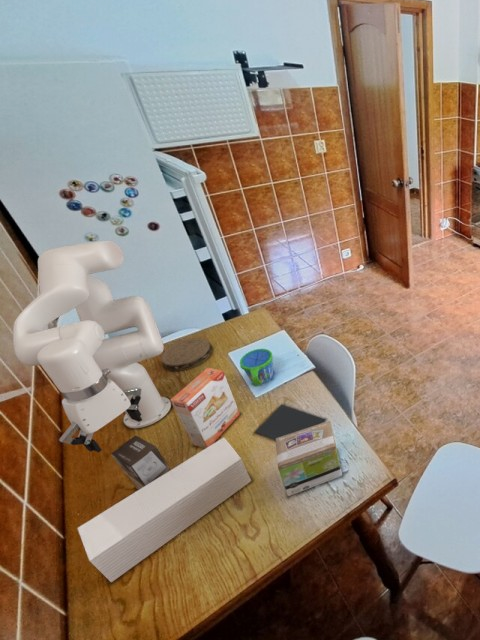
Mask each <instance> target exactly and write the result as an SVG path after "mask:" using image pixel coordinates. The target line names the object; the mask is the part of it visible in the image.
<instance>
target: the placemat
mask: <svg viewBox="0 0 480 640" xmlns="http://www.w3.org/2000/svg"><path fill="white" fill-rule="evenodd" d="M324 422H326V419H325V418H322V417H319V416H317V415H314V414H312V413H308V412H306V411H303V410H302V411H301V410H298V409H296V408H293V407H290V406H287V405H285V404H280V406H278V407H277V409H276V410H274V412H273V413H271V415H269V417H268V418H267V419H266V420H265V421H264V422H263V423H262V424H261V425H260V426H259V427H258V428H257V429H256V430H255V431H254V433H255V434H258V435H261V436H263V437H266V438H269V439H271V440H274V441H276V440H275V439H276V438H278V437H281V436H284V435H288V434H291V433H294V432H297V431H300V430H303V429H306V428H309V427H312V426H315V425H318V424H321V423H324Z"/></svg>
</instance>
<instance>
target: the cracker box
mask: <svg viewBox="0 0 480 640" xmlns="http://www.w3.org/2000/svg"><path fill="white" fill-rule="evenodd" d="M169 400H170V402H171V406H172V407H173V408H174V410H175V412H176V415H177V416H178V418H179V420H180V422H181V425H182V426H183V428H184V430H185V432H186V434H187V436H188V437H189V440H190V442H191V443H192V445H193V446H194V447H199V448H203V449H206V448H207V447H209V446H211V445H212V444H214V443H215V442H217V441H218V439H219V438H220V437H221V435H222V434H223V433H224V432H225V431H226V430H227V429H228V428H229V427H230V426H231V425H232V424H233V423H234V421H235V420H236V419H237V418H238V417H240V415H241V413H240V410H239V408H238V405H237V403H236V400H235V397H234V395H233V393H232V390H231V387H230V385H229V382H228V380H227V377H226V374H225V371H224V370H222V369H218V368H217V369H216V368H212V367H207V368H205V369H204V370H203V371H202V372H201V373H200V374H198V376H196V377H195V378H194V379H193V380H191V381H190V382H189V383H188V384H187V385H186V386H185V387H183V388H182V389H181V390H180V391H179V392H178V393H176V394H175V395H174V396H173V397H172V398H170V399H169Z"/></svg>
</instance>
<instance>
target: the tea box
mask: <svg viewBox="0 0 480 640" xmlns="http://www.w3.org/2000/svg"><path fill="white" fill-rule="evenodd" d="M274 441H275V449H276V460H277V461H276V462H277V469H278V472H279V476H280V478H281V481H282V484H283V487H284V490H285V492H286V495H287V496H288V497H290V496H293V495H296V494H298V493H301V492H303V491H306V490H309V489H311V488H313V487H316V486H319V485H322V484H324V483H327V482H330V481H332V480H334V479H337V478H340V477H342V475H343V474H342V468H341V462H340V458H339V453H338V449H337V444H336V439H335V435H334V430H333V427H332V423H331V420H327V421H324V422H323V423H321V424H318V425H315V426H312V427H309V428H306V429H303V430H300V431H297V432H294V433H291V434H288V435H284V436H281V437H278V438H276V439H275V440H274Z"/></svg>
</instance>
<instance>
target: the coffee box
mask: <svg viewBox="0 0 480 640" xmlns="http://www.w3.org/2000/svg"><path fill="white" fill-rule="evenodd" d="M110 455H111V456H112V458H113V459H114V460H115V462H116V463H117V464H118V466H119V467H120V468H121V470H122V471H123V472H124V473H125V475H126V476H127V477H128V479H129V480H130V482H131V483H132V484H133V486H134V487H135V489H136V490H137V491H138V490H140V489H141V488H143V487H144V486H146V485H148V484H149V483H151V482H152V481H154V480H156V479H157V478H159V477H161V476H162V475H164V474H165V473H167V472H169V471H170V470H172V469H171V467H170V465H169V464H168V463H167V461H166V460H165V458H164V457H163V455H162V453H161V452H160V450H159V448H158V446H156V445H154V444H153V443H151V442H149V441H147V440H146V439H144V438H141V437H139V436H138V435H134V436H133V437H131V438H129V439H128V440H126V442H124V443H122V444H121V445H120V446H119V447H118V448H116V449H115V450H114V451H113V452H111V453H110Z"/></svg>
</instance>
